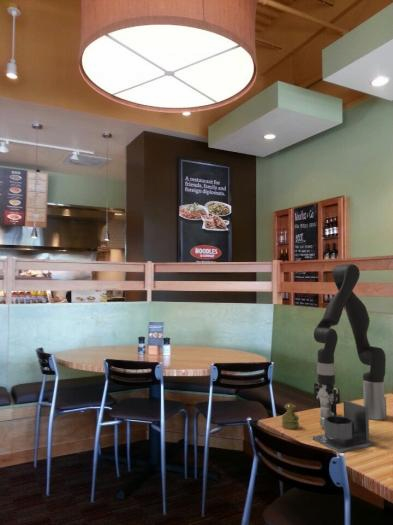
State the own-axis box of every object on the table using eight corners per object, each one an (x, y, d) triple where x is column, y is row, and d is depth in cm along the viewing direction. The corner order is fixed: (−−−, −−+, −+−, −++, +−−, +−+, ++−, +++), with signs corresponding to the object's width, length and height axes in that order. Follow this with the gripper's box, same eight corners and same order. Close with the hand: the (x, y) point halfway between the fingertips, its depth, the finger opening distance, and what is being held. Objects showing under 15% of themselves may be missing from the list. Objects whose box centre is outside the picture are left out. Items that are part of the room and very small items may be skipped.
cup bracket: (346, 432, 176) (345, 399, 177) (374, 445, 162) (373, 408, 163) (312, 439, 169) (312, 404, 170) (339, 452, 155) (338, 414, 156)
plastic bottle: (336, 430, 179) (335, 383, 180) (320, 429, 180) (319, 383, 181) (334, 425, 185) (333, 380, 186) (318, 424, 186) (317, 379, 188)
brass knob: (286, 422, 190) (286, 400, 190) (301, 426, 185) (301, 403, 185) (278, 427, 184) (278, 404, 184) (294, 430, 179) (293, 407, 180)
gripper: (344, 375, 179) (344, 413, 178) (322, 369, 192) (322, 404, 191) (330, 376, 176) (331, 415, 175) (308, 370, 189) (309, 406, 188)
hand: (326, 409), depth 183 cm, fingers open, 8 cm apart
